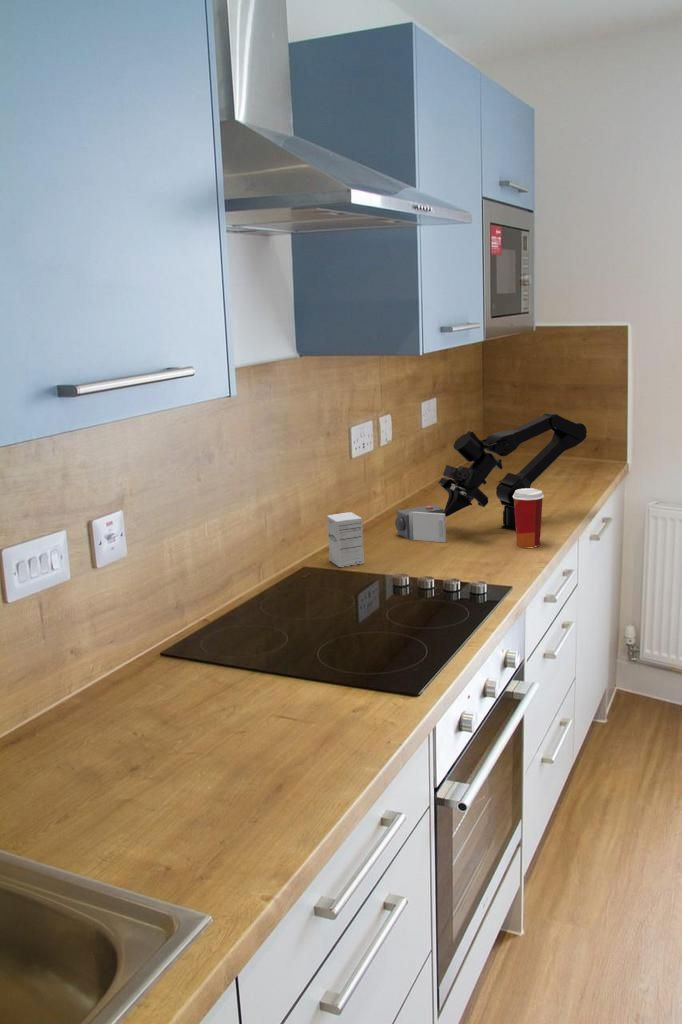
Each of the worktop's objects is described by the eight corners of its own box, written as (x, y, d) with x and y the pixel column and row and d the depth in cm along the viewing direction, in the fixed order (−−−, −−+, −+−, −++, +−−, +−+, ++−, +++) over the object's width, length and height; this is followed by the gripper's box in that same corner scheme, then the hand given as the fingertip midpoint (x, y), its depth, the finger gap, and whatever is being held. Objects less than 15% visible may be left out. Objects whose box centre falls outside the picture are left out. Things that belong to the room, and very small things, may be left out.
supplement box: (328, 561, 236) (326, 515, 233) (354, 556, 239) (352, 511, 236) (338, 568, 230) (335, 521, 226) (365, 564, 232) (362, 517, 229)
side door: (446, 541, 248) (445, 513, 246) (444, 542, 247) (443, 515, 245) (410, 538, 253) (409, 511, 251) (408, 539, 252) (407, 512, 250)
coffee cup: (532, 539, 246) (532, 486, 242) (550, 546, 238) (550, 492, 234) (506, 543, 243) (506, 490, 239) (523, 551, 235) (522, 496, 232)
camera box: (434, 527, 262) (433, 502, 261) (444, 532, 257) (443, 507, 255) (394, 534, 258) (393, 509, 256) (403, 539, 252) (402, 513, 250)
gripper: (443, 449, 254) (410, 492, 253) (478, 459, 237) (442, 505, 236) (467, 472, 259) (435, 515, 257) (503, 484, 242) (469, 529, 241)
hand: (444, 515), depth 248 cm, fingers closed
